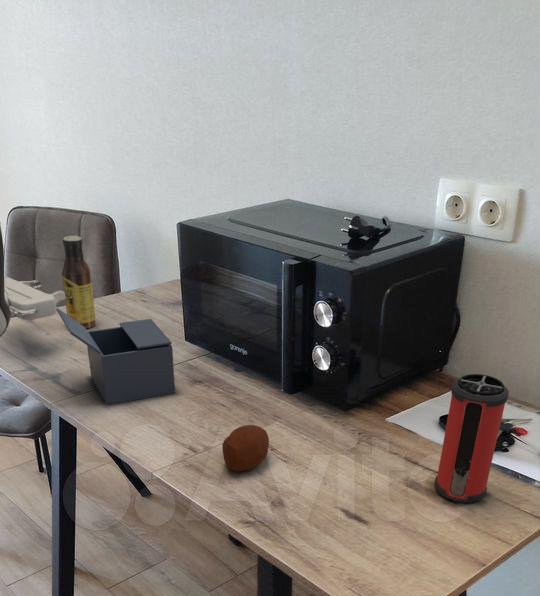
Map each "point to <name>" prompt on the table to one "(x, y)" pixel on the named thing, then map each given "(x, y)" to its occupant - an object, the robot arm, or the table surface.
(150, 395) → the carton
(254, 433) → the potato
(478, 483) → the speaker
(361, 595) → the table surface
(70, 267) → the sauce bottle
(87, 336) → the flap
